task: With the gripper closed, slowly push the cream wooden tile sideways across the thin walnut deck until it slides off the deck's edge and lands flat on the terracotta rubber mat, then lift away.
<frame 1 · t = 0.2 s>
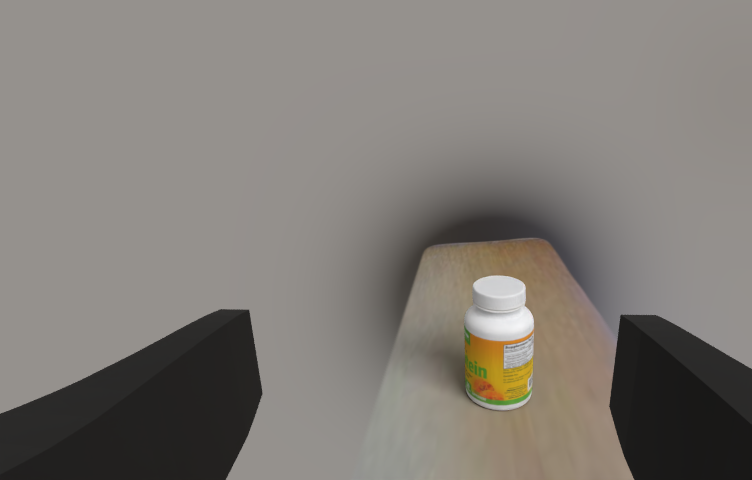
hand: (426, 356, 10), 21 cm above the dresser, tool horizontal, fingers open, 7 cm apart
supplement bottle: (498, 393, 43), on the dresser
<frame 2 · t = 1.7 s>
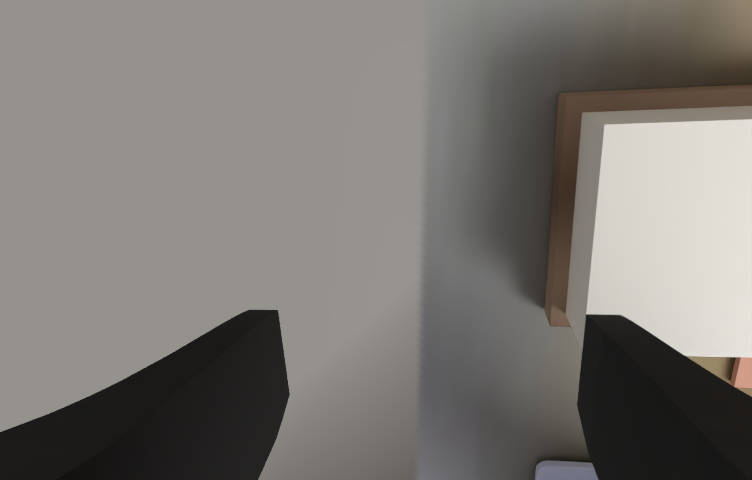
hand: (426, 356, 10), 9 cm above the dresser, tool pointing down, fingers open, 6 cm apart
cream tile: (670, 219, 17), point 1 cm above the dresser, touching walnut deck
walnut deck: (656, 208, 18), on the dresser
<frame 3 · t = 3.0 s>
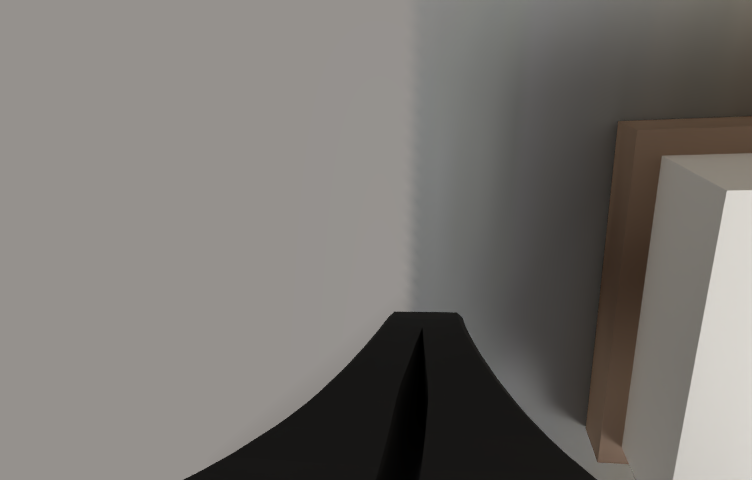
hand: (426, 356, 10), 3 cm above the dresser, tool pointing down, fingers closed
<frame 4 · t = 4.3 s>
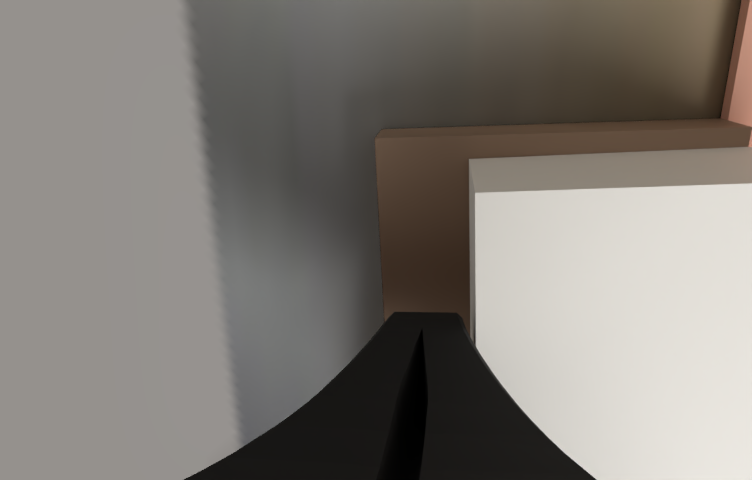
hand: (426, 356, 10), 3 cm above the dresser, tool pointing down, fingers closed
cream tile: (611, 313, 11), point 1 cm above the dresser, touching gripper
walnut deck: (533, 291, 13), on the dresser
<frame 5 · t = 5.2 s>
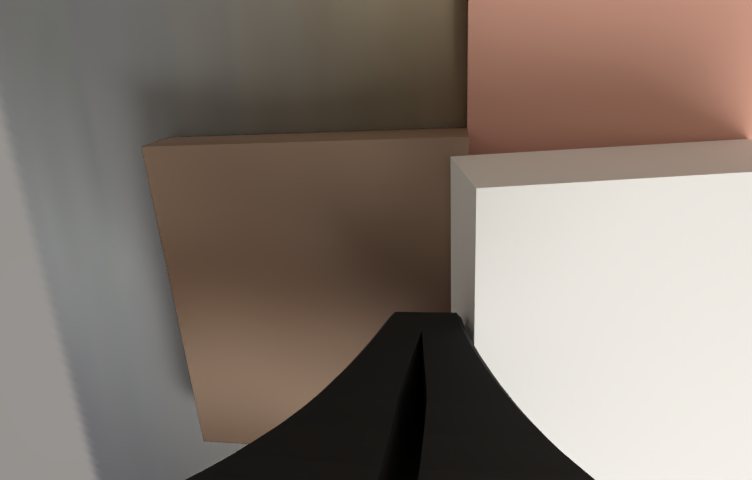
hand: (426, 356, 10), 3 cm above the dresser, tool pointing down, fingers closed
cream tile: (584, 303, 12), point 1 cm above the dresser, tilted 9°, touching gripper
terracotta mat: (660, 293, 12), on the dresser
walnut deck: (326, 290, 13), on the dresser
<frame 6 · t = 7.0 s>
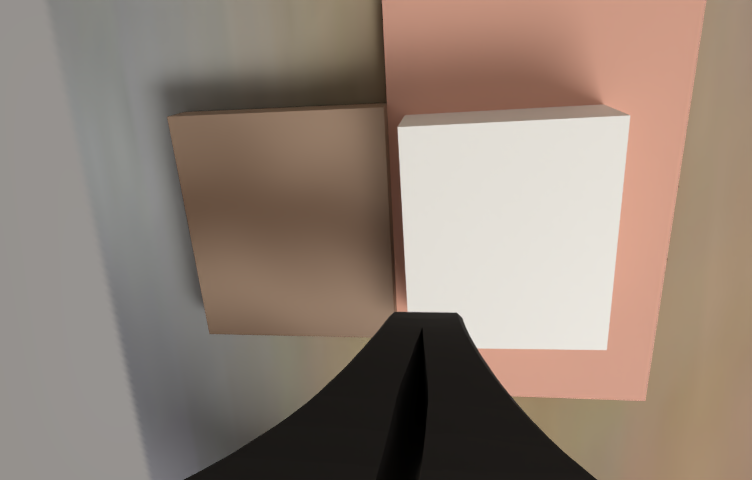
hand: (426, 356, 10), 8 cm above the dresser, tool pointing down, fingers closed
cream tile: (499, 217, 17), resting on terracotta mat
terracotta mat: (526, 218, 17), on the dresser
walnut deck: (296, 221, 19), on the dresser
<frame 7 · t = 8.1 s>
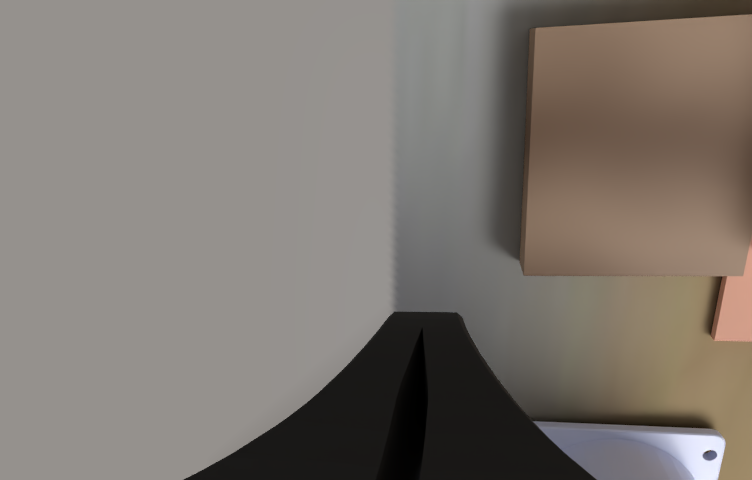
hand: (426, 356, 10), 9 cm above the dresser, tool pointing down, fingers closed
walnut deck: (632, 151, 17), on the dresser
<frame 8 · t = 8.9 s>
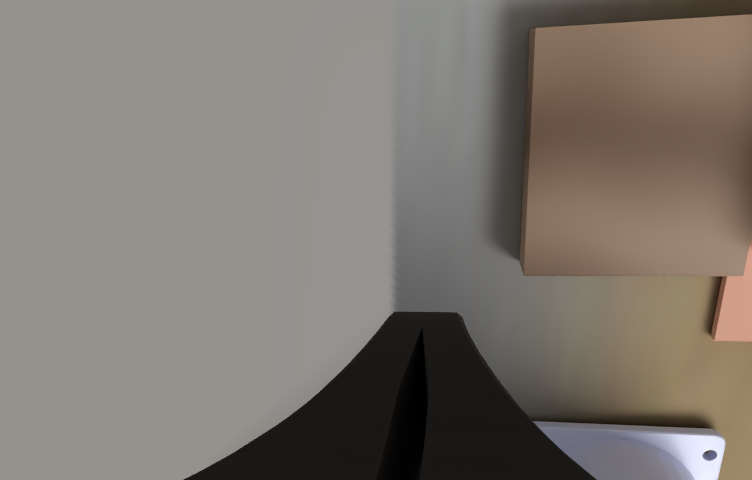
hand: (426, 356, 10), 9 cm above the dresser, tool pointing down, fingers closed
walnut deck: (632, 151, 17), on the dresser
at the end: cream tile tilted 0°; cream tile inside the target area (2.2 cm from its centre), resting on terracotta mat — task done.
